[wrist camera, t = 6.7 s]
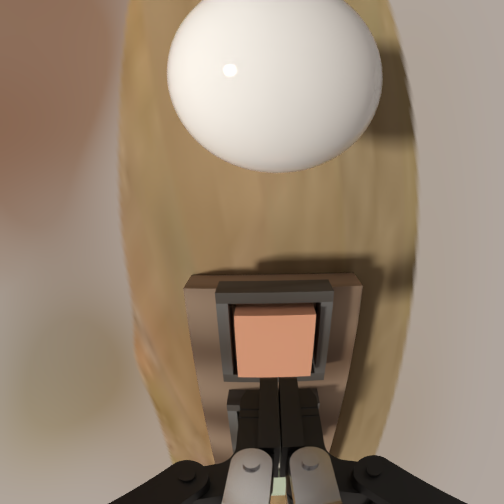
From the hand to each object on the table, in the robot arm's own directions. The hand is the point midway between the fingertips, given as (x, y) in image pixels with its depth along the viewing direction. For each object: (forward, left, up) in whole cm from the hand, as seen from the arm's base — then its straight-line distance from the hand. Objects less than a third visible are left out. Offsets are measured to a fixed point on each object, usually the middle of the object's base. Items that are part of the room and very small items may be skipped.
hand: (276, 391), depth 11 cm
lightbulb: (-12, 0, -8) cm, 14 cm away
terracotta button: (0, 0, -5) cm, 6 cm away
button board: (+8, 0, -8) cm, 11 cm away
